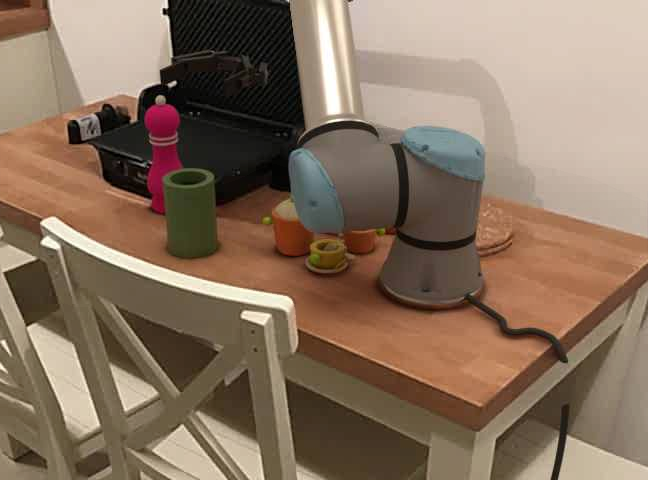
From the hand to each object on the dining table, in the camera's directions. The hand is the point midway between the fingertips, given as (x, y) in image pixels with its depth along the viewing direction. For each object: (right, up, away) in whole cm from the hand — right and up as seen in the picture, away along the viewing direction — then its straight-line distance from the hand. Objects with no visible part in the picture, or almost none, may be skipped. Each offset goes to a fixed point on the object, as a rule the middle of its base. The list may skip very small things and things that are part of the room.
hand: (192, 83), depth 161 cm
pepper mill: (-4, -21, +5) cm, 22 cm away
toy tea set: (+25, -30, -9) cm, 40 cm away
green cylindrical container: (+1, -30, -9) cm, 32 cm away
